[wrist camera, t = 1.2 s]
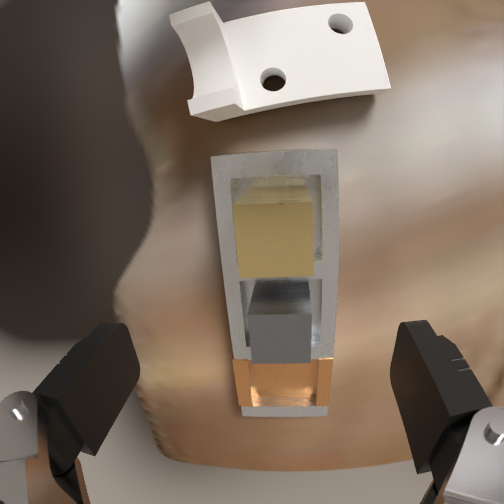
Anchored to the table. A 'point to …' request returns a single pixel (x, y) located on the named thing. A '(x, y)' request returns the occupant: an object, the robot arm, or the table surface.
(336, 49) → the bracket
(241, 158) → the grey long flat tray
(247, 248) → the yellow gold block
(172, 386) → the table surface
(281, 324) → the brushed steel cube
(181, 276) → the table surface
